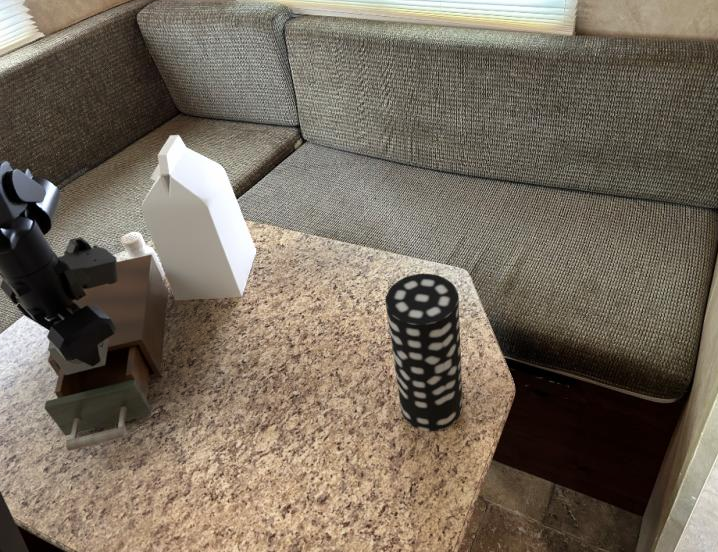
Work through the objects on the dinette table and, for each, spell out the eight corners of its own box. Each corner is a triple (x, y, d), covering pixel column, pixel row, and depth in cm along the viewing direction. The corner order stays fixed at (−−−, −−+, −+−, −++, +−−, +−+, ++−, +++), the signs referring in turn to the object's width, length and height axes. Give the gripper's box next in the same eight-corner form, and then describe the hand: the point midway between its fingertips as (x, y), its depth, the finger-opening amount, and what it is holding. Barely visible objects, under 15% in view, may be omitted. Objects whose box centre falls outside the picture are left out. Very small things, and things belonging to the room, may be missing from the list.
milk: (241, 297, 101) (194, 163, 85) (175, 300, 102) (115, 168, 86) (256, 251, 111) (216, 122, 94) (195, 254, 111) (145, 127, 95)
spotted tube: (393, 424, 80) (375, 318, 67) (410, 375, 86) (397, 269, 73) (455, 437, 77) (449, 330, 65) (468, 385, 83) (465, 278, 71)
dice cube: (65, 375, 78) (47, 349, 75) (70, 347, 82) (54, 322, 79) (105, 365, 79) (89, 339, 76) (108, 338, 83) (94, 312, 80)
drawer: (148, 443, 80) (131, 415, 76) (58, 466, 78) (35, 438, 74) (159, 321, 97) (145, 293, 93) (86, 338, 96) (69, 310, 92)
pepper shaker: (149, 289, 105) (128, 247, 99) (134, 282, 107) (113, 240, 101) (167, 276, 107) (148, 233, 101) (152, 269, 109) (133, 227, 103)
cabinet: (161, 376, 90) (141, 339, 84) (73, 397, 88) (47, 361, 83) (168, 290, 104) (151, 254, 99) (92, 307, 103) (72, 271, 98)
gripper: (130, 255, 69) (174, 347, 79) (59, 202, 80) (106, 289, 90) (34, 311, 63) (95, 403, 73) (-29, 246, 74) (32, 333, 84)
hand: (84, 351), depth 80 cm, fingers closed on dice cube, 6 cm apart
